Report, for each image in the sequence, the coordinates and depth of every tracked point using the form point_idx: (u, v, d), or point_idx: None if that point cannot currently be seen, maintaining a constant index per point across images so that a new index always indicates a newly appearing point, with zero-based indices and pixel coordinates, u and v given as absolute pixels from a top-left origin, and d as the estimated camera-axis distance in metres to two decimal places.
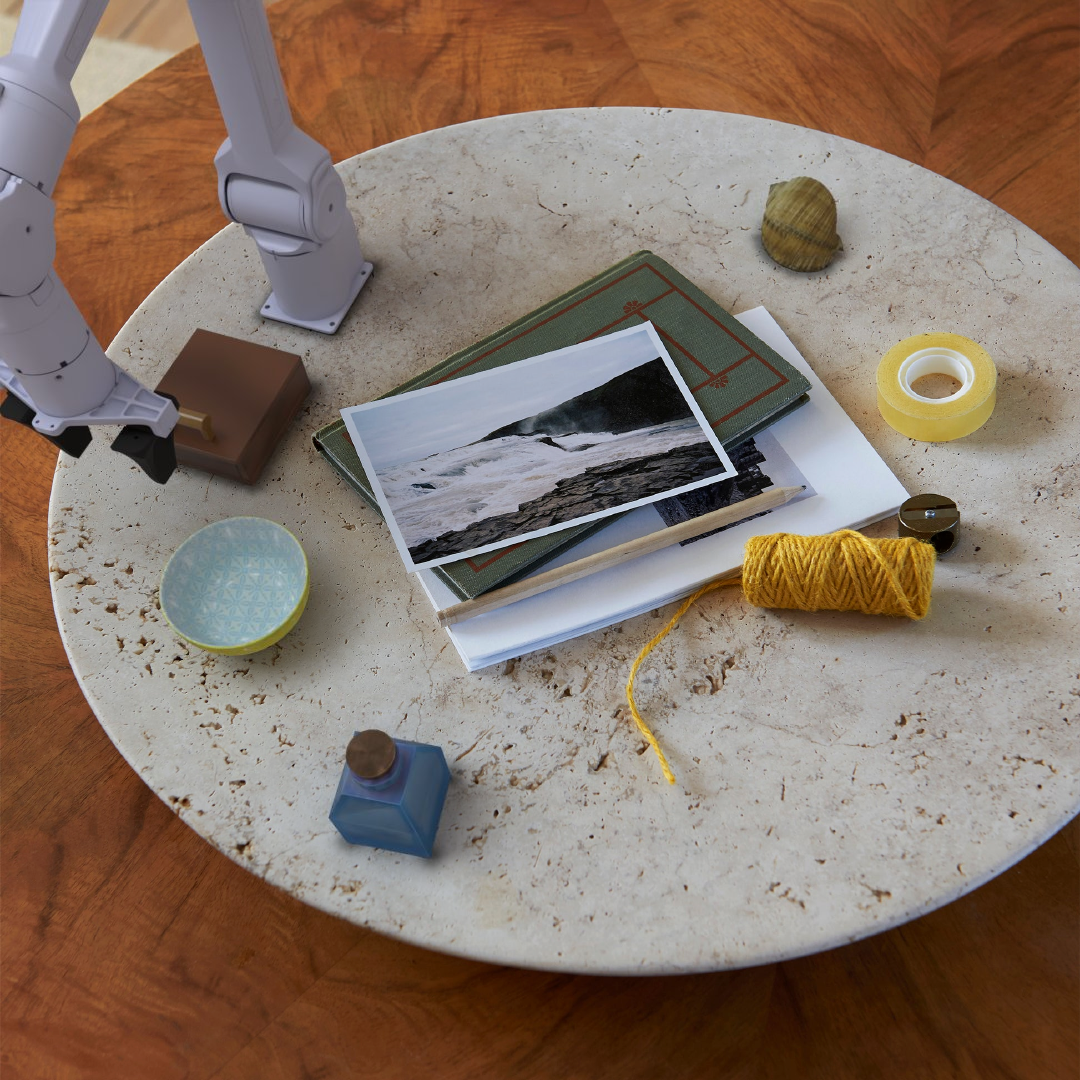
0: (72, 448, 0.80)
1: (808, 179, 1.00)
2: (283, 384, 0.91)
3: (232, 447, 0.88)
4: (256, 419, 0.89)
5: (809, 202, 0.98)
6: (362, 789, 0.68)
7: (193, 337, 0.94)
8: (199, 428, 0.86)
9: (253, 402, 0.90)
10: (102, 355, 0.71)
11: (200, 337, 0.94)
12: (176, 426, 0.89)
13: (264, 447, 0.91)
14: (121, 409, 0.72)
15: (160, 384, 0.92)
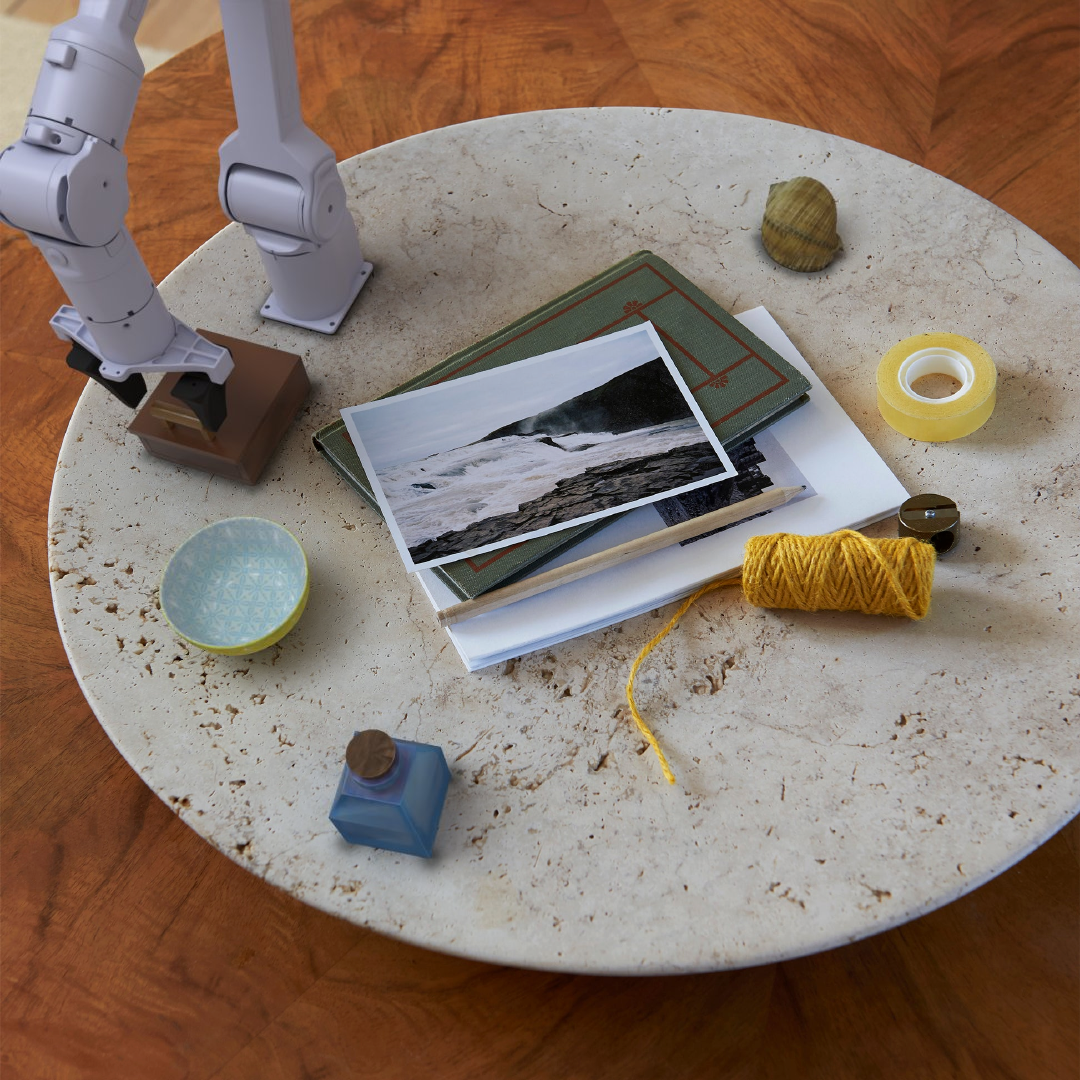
0: (129, 399, 0.85)
1: (808, 179, 1.00)
2: (283, 384, 0.91)
3: (232, 447, 0.88)
4: (256, 419, 0.89)
5: (809, 202, 0.98)
6: (362, 789, 0.68)
7: None
8: (199, 428, 0.86)
9: (253, 402, 0.90)
10: (164, 307, 0.77)
11: None
12: (176, 426, 0.89)
13: (264, 447, 0.91)
14: (181, 357, 0.78)
15: (160, 384, 0.92)
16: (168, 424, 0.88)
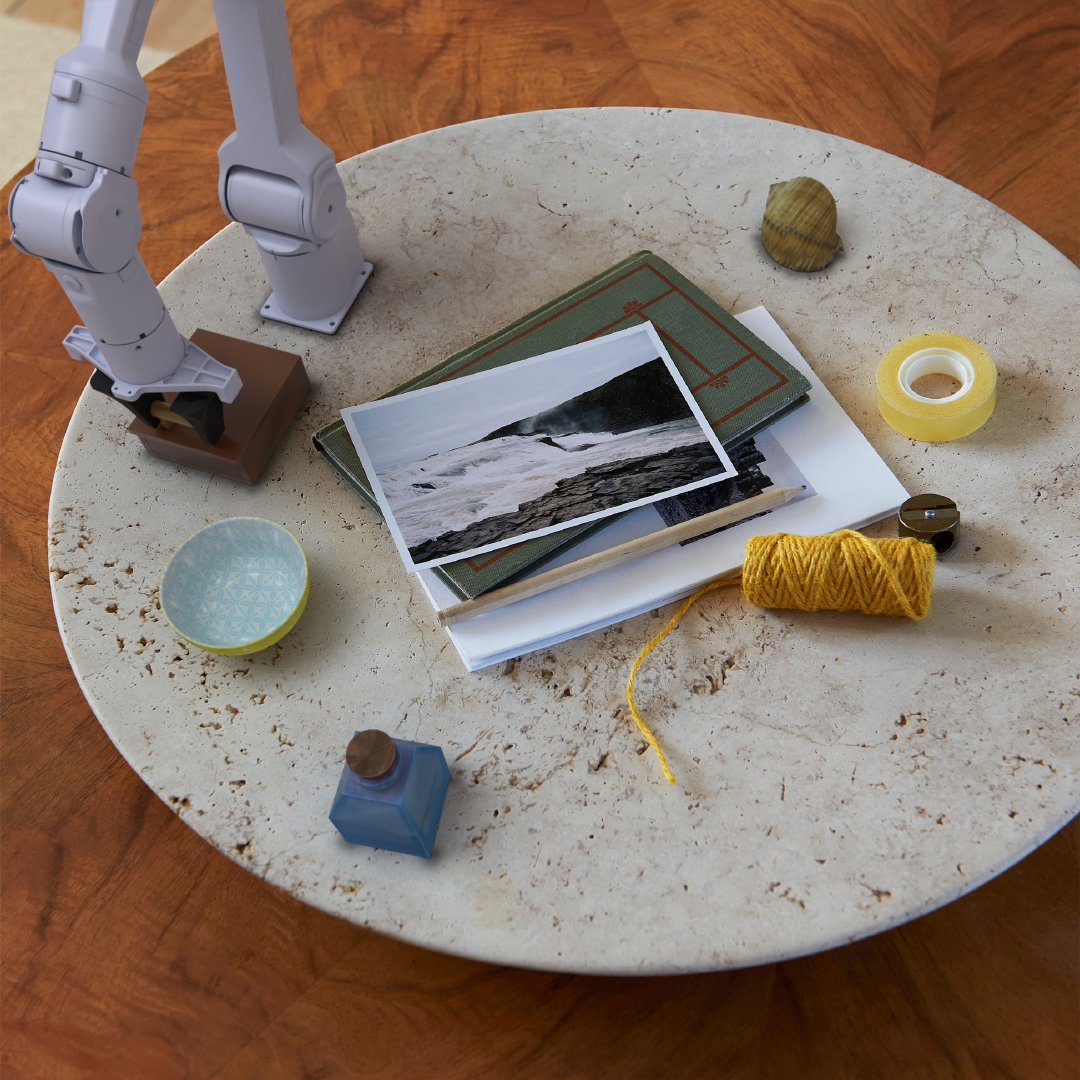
0: (151, 419, 0.87)
1: (808, 179, 1.00)
2: (283, 384, 0.91)
3: (232, 447, 0.88)
4: (256, 419, 0.89)
5: (809, 202, 0.98)
6: (362, 789, 0.68)
7: (193, 337, 0.94)
8: None
9: (253, 402, 0.90)
10: (174, 328, 0.79)
11: (200, 337, 0.94)
12: (176, 426, 0.89)
13: (264, 447, 0.91)
14: (191, 377, 0.80)
15: None
16: (168, 424, 0.88)
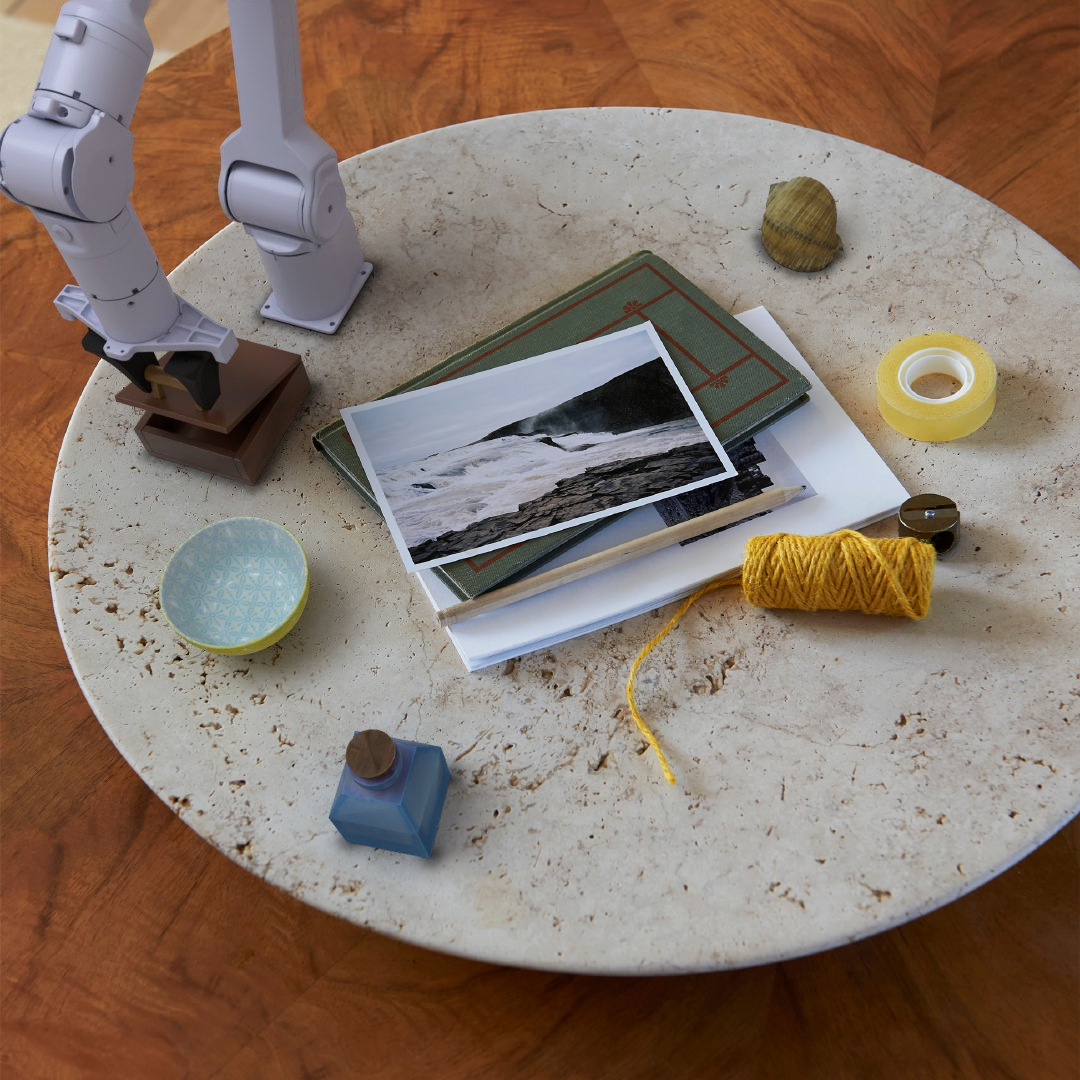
0: (145, 383, 0.85)
1: (808, 179, 1.00)
2: (281, 374, 0.90)
3: (224, 417, 0.85)
4: (251, 398, 0.87)
5: (809, 202, 0.98)
6: (362, 789, 0.68)
7: None
8: None
9: (249, 385, 0.89)
10: (168, 286, 0.77)
11: None
12: (167, 397, 0.87)
13: (264, 447, 0.91)
14: (185, 337, 0.78)
15: None
16: (159, 392, 0.86)
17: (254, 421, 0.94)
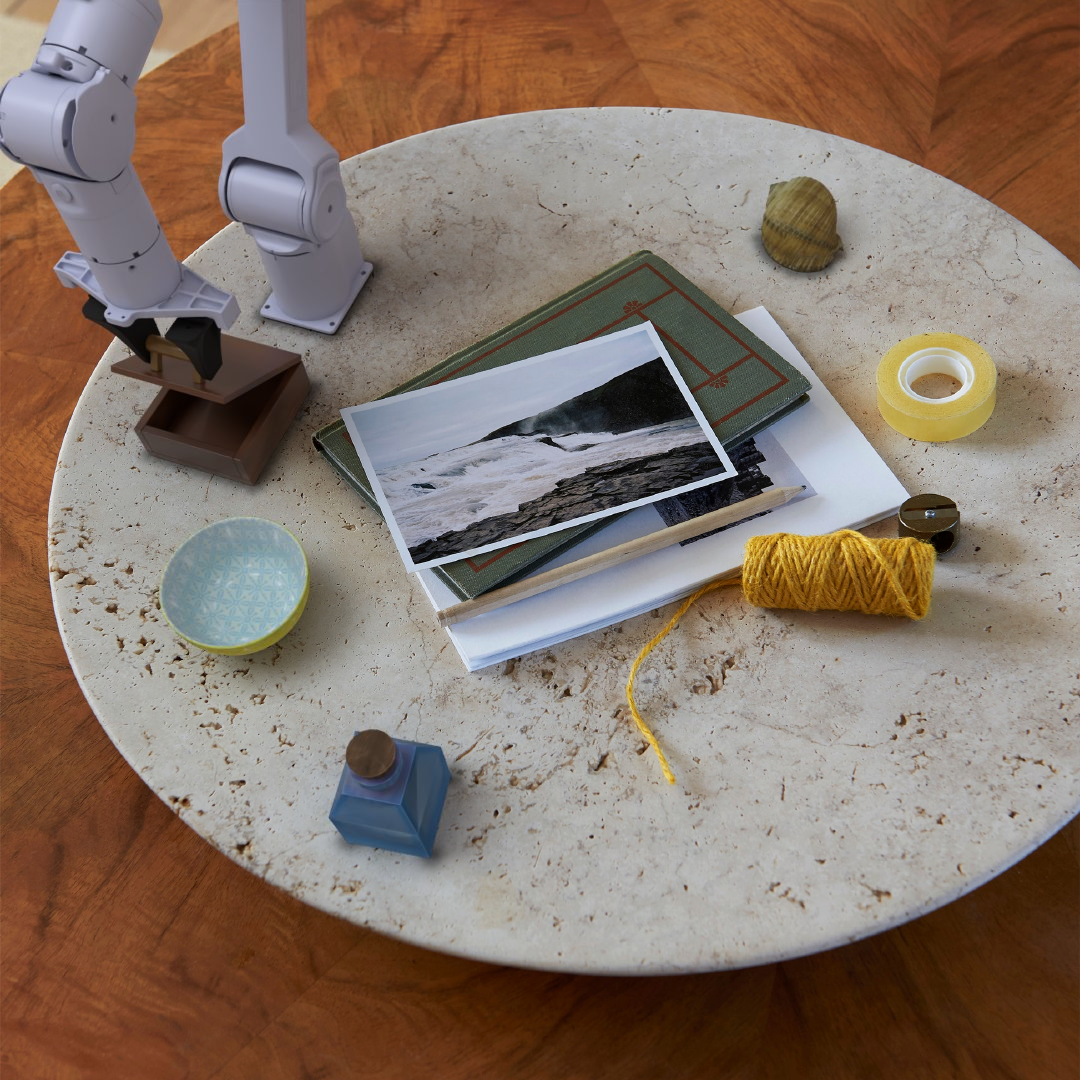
0: (146, 353, 0.84)
1: (808, 179, 1.00)
2: (281, 366, 0.90)
3: (222, 389, 0.84)
4: (250, 379, 0.86)
5: (809, 202, 0.98)
6: (362, 789, 0.68)
7: None
8: None
9: (248, 370, 0.88)
10: (170, 251, 0.76)
11: None
12: (164, 371, 0.85)
13: (264, 447, 0.91)
14: (187, 303, 0.77)
15: None
16: (157, 363, 0.85)
17: (254, 421, 0.94)
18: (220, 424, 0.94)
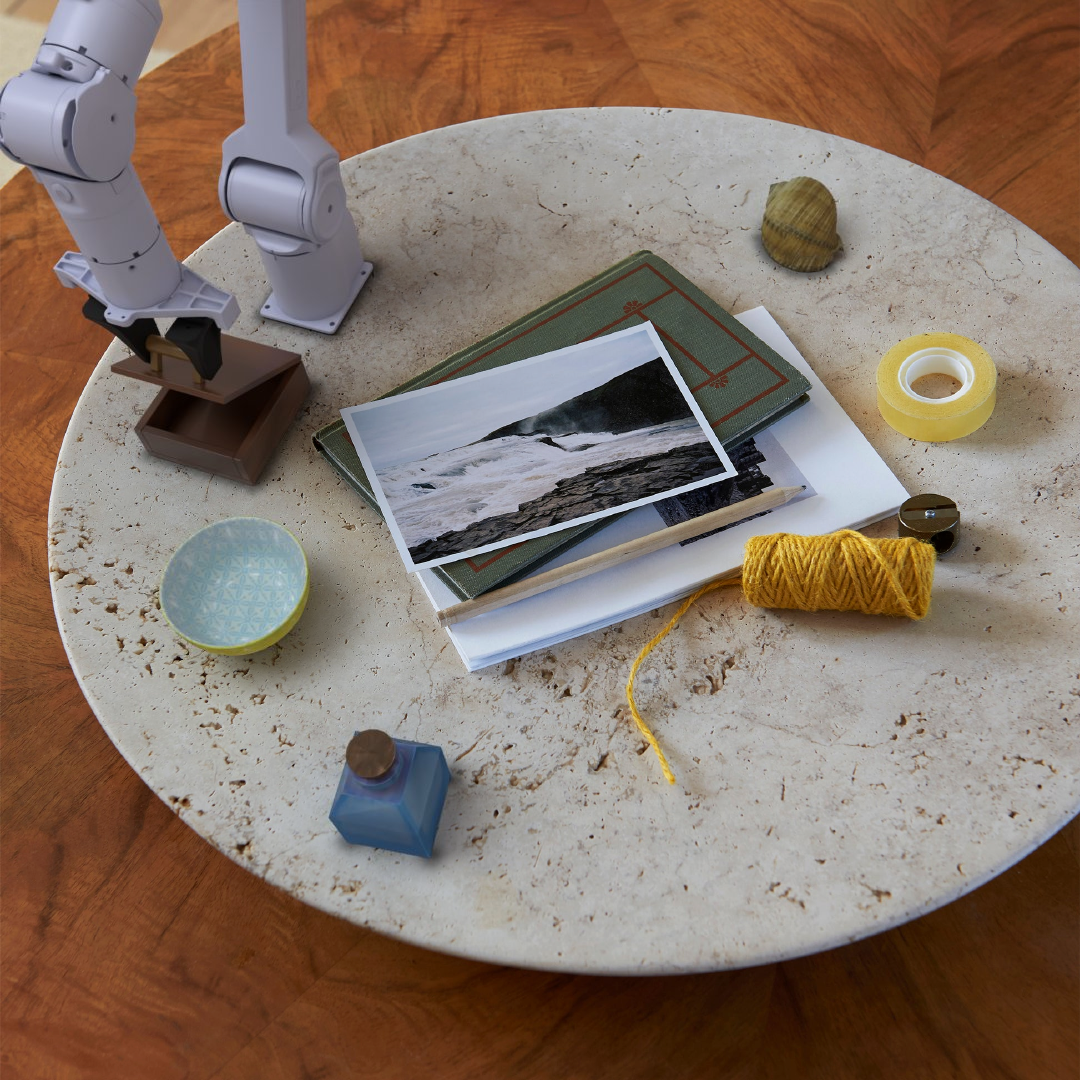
0: (146, 353, 0.84)
1: (808, 179, 1.00)
2: (281, 366, 0.90)
3: (222, 389, 0.84)
4: (250, 379, 0.86)
5: (809, 202, 0.98)
6: (362, 789, 0.68)
7: None
8: None
9: (248, 370, 0.88)
10: (170, 251, 0.76)
11: None
12: (164, 371, 0.85)
13: (264, 447, 0.91)
14: (187, 303, 0.77)
15: None
16: (157, 363, 0.85)
17: (254, 421, 0.94)
18: (220, 424, 0.94)
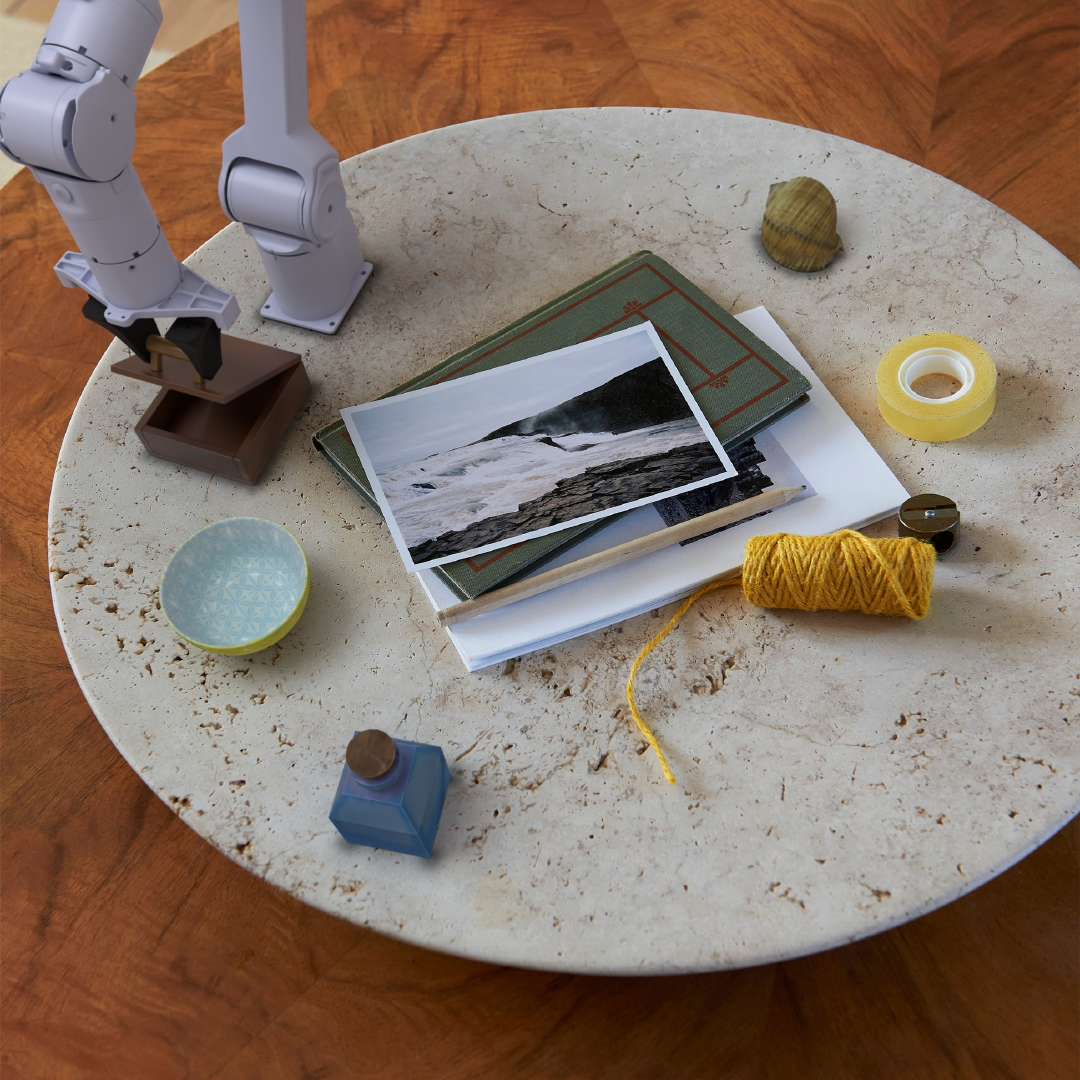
0: (146, 353, 0.84)
1: (808, 179, 1.00)
2: (281, 366, 0.90)
3: (222, 389, 0.84)
4: (250, 379, 0.86)
5: (809, 202, 0.98)
6: (362, 789, 0.68)
7: None
8: None
9: (248, 370, 0.88)
10: (170, 251, 0.76)
11: None
12: (164, 371, 0.85)
13: (264, 447, 0.91)
14: (187, 303, 0.77)
15: None
16: (157, 363, 0.85)
17: (254, 421, 0.94)
18: (220, 424, 0.94)
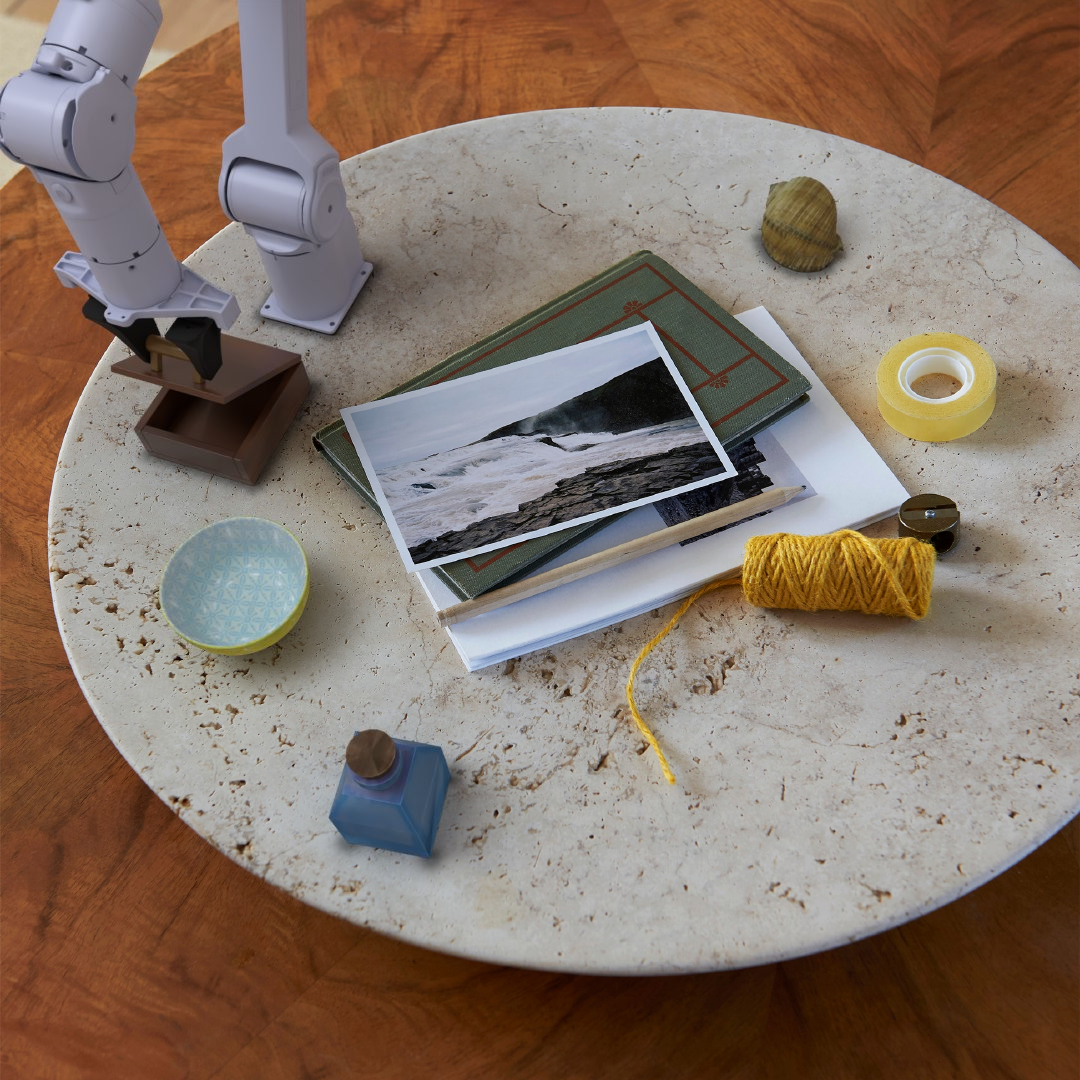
0: (146, 353, 0.84)
1: (808, 179, 1.00)
2: (281, 366, 0.90)
3: (222, 389, 0.84)
4: (250, 379, 0.86)
5: (809, 202, 0.98)
6: (362, 789, 0.68)
7: None
8: None
9: (248, 370, 0.88)
10: (170, 251, 0.76)
11: None
12: (164, 371, 0.85)
13: (264, 447, 0.91)
14: (187, 303, 0.77)
15: None
16: (157, 363, 0.85)
17: (254, 421, 0.94)
18: (220, 424, 0.94)
